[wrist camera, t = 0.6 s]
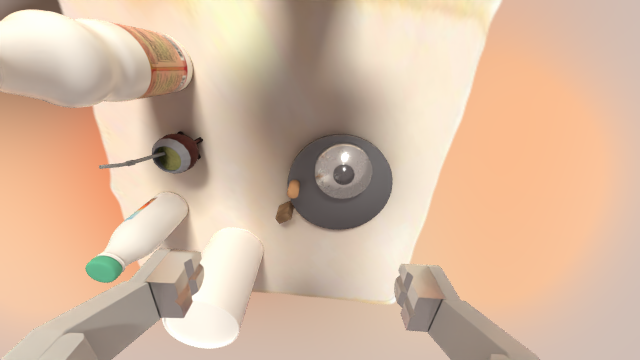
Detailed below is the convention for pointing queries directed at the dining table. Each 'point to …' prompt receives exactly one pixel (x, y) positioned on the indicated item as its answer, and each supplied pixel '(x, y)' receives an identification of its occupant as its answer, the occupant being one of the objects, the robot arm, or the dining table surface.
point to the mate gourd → (170, 154)
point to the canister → (220, 290)
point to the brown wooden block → (284, 212)
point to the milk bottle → (138, 236)
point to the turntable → (337, 210)
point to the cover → (343, 170)
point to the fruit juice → (87, 60)
